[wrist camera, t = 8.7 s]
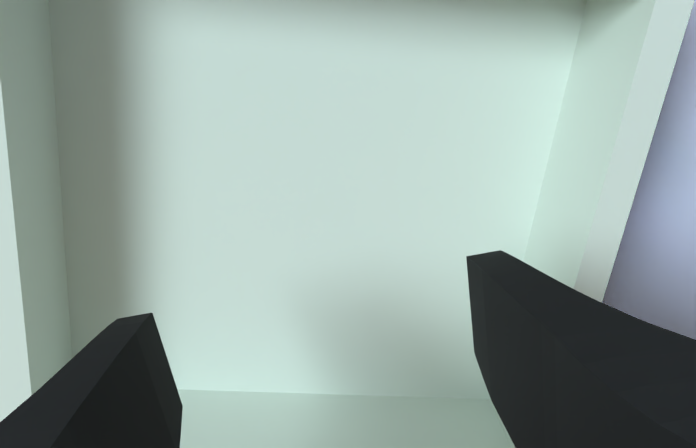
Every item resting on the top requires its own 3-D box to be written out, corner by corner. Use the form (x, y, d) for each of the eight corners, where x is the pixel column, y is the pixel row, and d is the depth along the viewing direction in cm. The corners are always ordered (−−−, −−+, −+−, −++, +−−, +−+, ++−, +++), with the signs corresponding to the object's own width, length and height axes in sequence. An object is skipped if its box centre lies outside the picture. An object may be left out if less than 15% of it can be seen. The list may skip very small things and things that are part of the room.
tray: (621, -57, 16) (711, -55, 12) (503, 407, 21) (543, 494, 18) (9, -136, 14) (-75, -158, 11) (53, 394, 19) (6, 487, 16)
